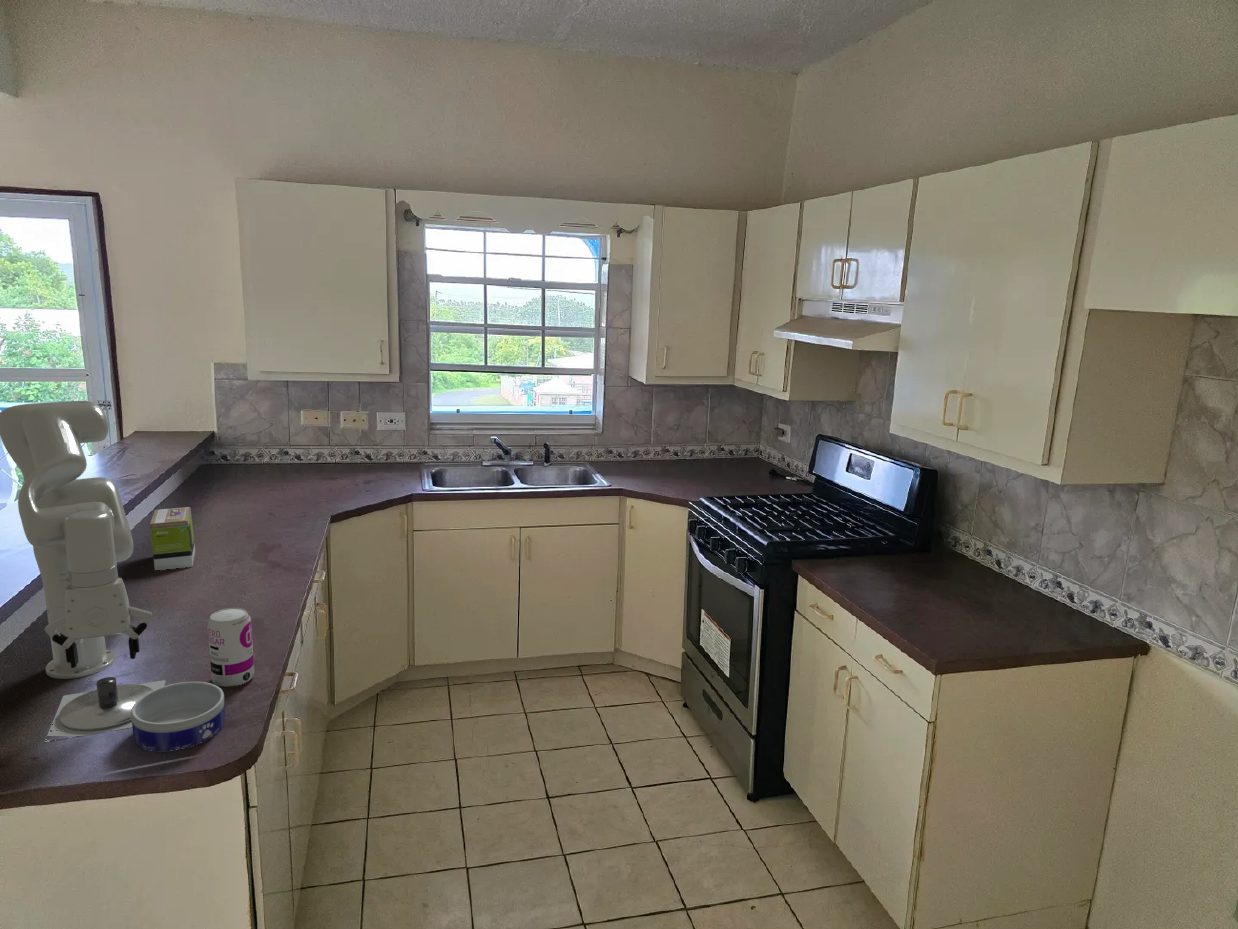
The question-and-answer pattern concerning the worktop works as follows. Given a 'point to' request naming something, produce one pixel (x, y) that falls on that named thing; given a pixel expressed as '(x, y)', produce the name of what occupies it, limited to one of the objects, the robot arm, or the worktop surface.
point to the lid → (102, 706)
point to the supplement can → (230, 647)
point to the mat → (70, 732)
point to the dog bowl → (178, 716)
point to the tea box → (172, 538)
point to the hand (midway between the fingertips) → (104, 660)
